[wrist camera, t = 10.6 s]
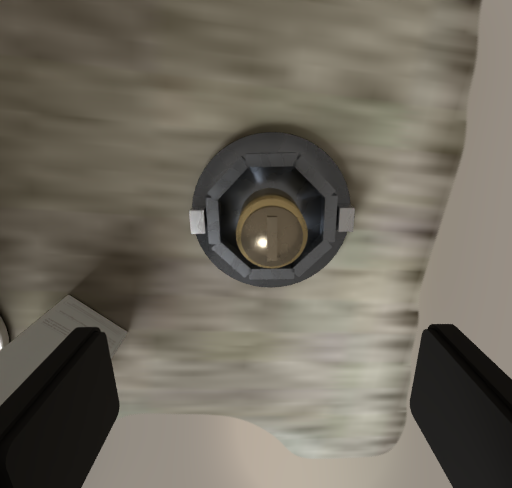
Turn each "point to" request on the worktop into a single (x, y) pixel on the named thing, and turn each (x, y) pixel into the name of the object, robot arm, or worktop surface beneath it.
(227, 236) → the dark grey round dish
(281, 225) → the brass lock cylinder
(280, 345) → the worktop surface
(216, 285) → the worktop surface
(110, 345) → the supplement box
